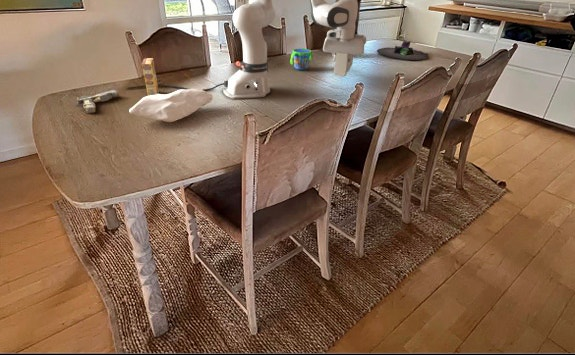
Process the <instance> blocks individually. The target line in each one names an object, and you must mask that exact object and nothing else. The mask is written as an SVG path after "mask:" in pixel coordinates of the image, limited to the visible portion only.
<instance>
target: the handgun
mask: <svg viewBox="0 0 575 355" xmlns="http://www.w3.org/2000/svg"><path fill="white" fill-rule="evenodd" d="M119 96H120V94H119V92H118V91H117V90H116V89H112V90H108V91H105V92H104V91H103V92H101V93H96V94H94V95H86V94H85V95H84V94H83V95H81V96H80V97H77V98H76V101H77V104H78V105H82V108H83V109H84V110H85V113H87V114H91V113H95V112H96V104H95V103H98V102H106V101H109V100H111V99H113V98H117V97H119Z"/></svg>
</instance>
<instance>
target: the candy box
mask: <svg viewBox="0 0 575 355" xmlns="http://www.w3.org/2000/svg"><path fill="white" fill-rule="evenodd" d="M141 66H142V73H143V78H144V82H145V85H146V87H145V88H146V92H147V96H150V95H156V94H159V91H160V90H159V86H158V85H159V84H158V79H157V73H156V66H155V62H154V58H153V57H151V58H150V57H149V58H146V57H145V58H143V60H142V63H141Z"/></svg>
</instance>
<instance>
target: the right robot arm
mask: <svg viewBox="0 0 575 355" xmlns="http://www.w3.org/2000/svg"><path fill="white" fill-rule="evenodd" d="M338 1H339V0H335V2H334V3H336V2H338ZM357 3H358V10H357V18H356V21H355V34H358V35H359V33H358V29H359V23H360V12H361V11H360V10H361V4H362V0H357ZM334 29H337V28H334ZM354 37H355V36H354ZM334 56H335V58H336V53H335V55H334Z"/></svg>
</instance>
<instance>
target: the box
mask: <svg viewBox="0 0 575 355" xmlns="http://www.w3.org/2000/svg"><path fill="white" fill-rule="evenodd" d="M335 58H336V59H335V62H334V71H333V75H334V76H339V77H340V76H341V77H346V76H347V74H348V73H349V71H350V69H351V68H352V66H353V64H354V58H353V59H352V60H351V63H348V59H350V58H351V54H349V53H338V52H337V53H336V57H335Z"/></svg>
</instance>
